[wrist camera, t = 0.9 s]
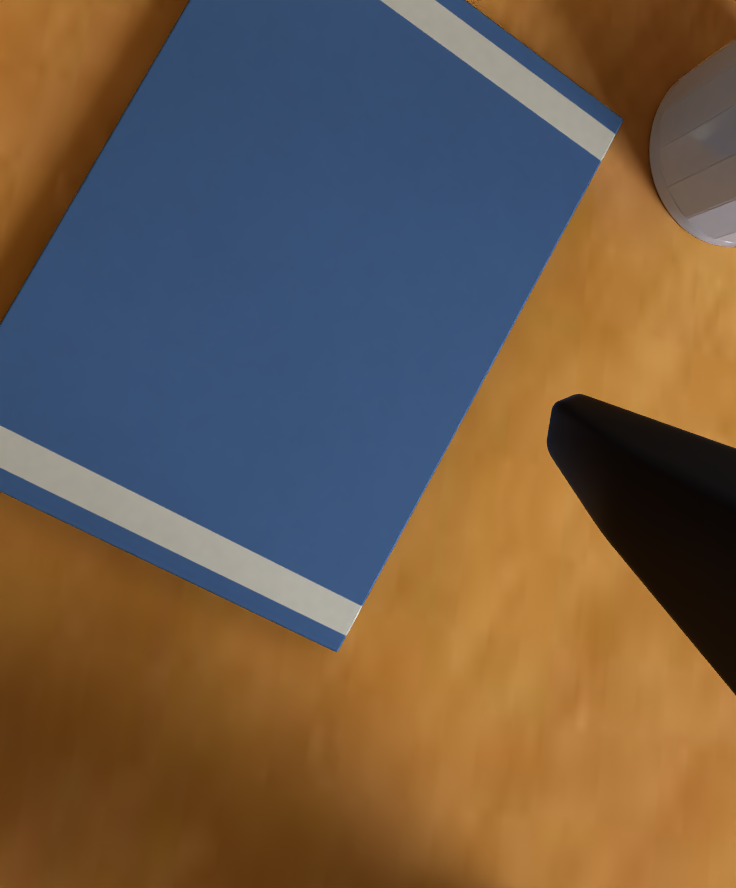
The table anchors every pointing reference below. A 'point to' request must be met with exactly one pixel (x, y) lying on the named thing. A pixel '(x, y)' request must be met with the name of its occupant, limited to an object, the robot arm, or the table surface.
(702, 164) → the tumbler
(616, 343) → the table surface
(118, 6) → the table surface
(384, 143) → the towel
